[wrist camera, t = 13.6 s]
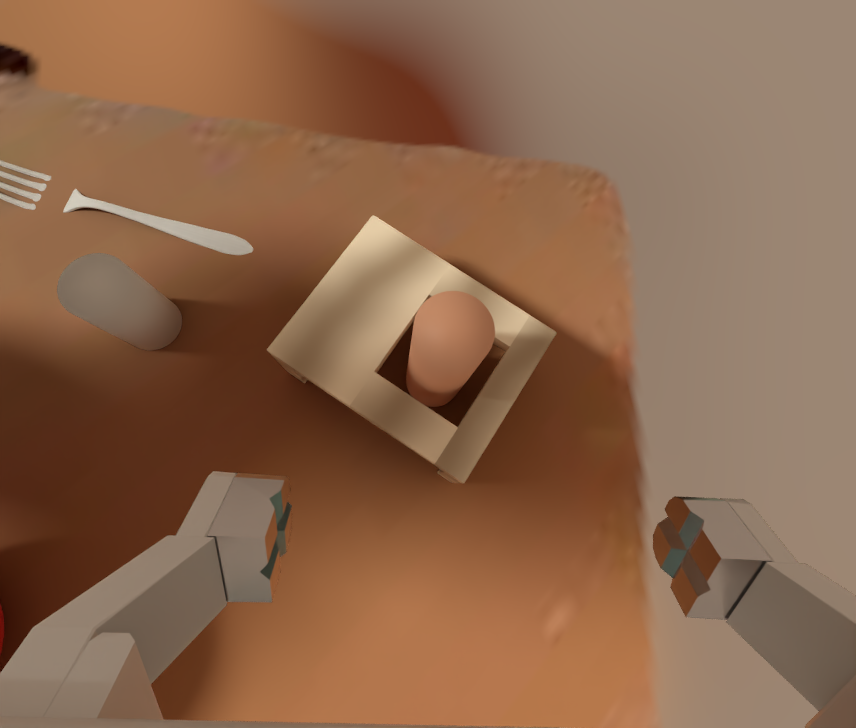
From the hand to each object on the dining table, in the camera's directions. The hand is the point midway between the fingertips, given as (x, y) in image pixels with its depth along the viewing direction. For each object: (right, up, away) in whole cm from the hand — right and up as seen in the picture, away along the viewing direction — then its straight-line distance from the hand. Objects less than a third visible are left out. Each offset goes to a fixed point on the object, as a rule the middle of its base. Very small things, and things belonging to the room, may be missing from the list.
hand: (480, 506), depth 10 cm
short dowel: (-21, +6, +24) cm, 32 cm away
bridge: (-2, +3, +25) cm, 25 cm away
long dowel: (-1, +2, +25) cm, 25 cm away
